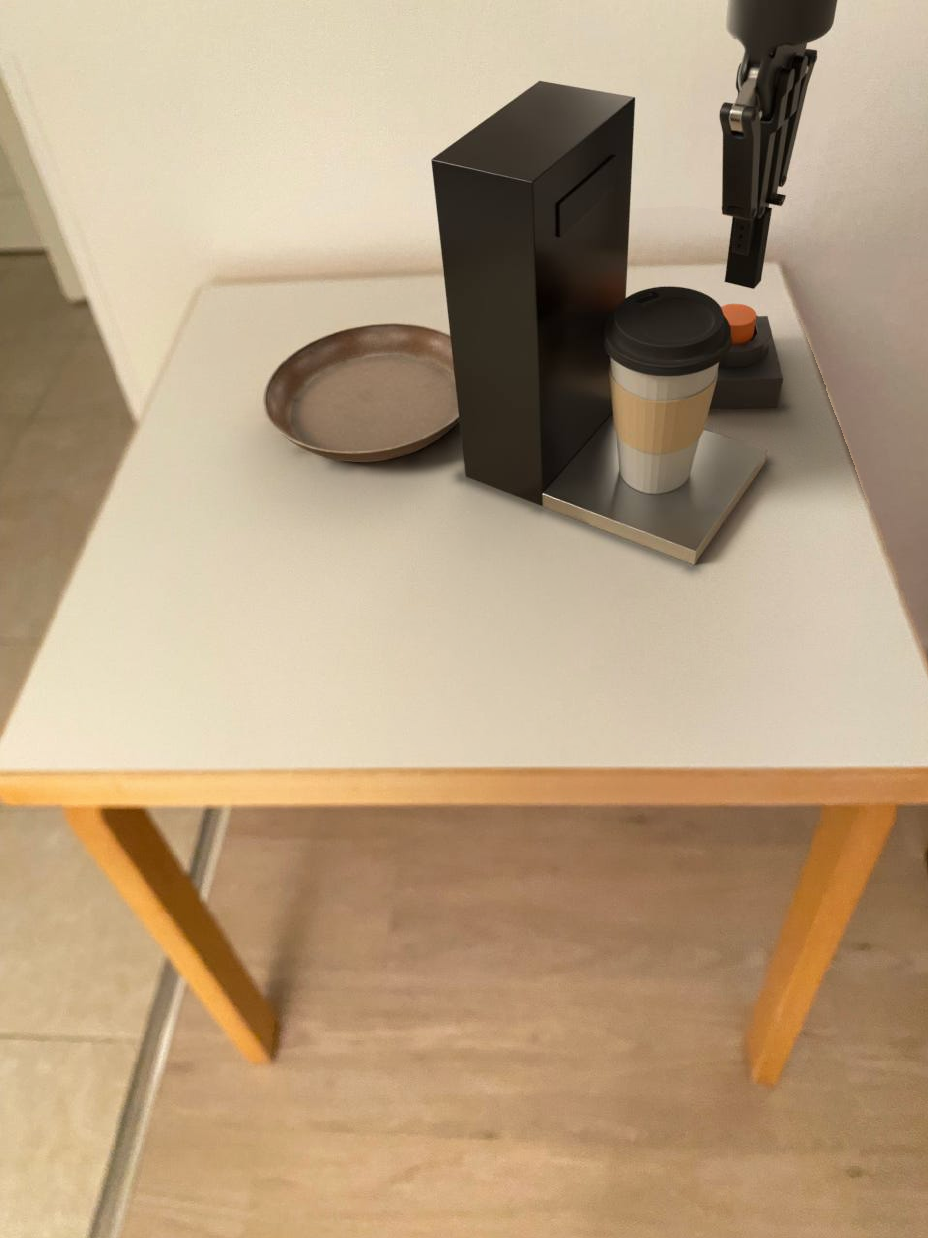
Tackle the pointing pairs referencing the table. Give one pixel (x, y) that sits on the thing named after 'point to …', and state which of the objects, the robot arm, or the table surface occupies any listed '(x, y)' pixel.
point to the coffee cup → (663, 381)
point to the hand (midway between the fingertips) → (742, 280)
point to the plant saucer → (366, 392)
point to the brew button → (740, 322)
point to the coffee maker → (558, 318)
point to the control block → (750, 372)
